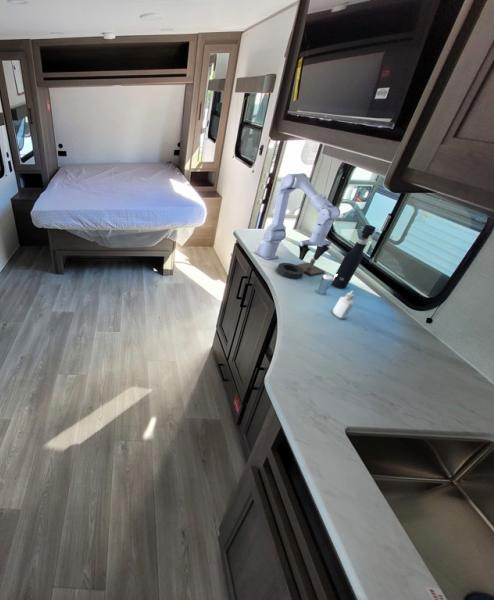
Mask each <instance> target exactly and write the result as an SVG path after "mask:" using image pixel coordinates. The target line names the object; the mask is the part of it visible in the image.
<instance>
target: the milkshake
mask: <svg viewBox="0 0 494 600" xmlns="http://www.w3.org/2000/svg"><path fill="white" fill-rule="evenodd" d="M337 275H338V274H337ZM337 275H336V276H337ZM336 276H335V275H334V276H333V275H331V274H324V275H323V274H322V277H321V281H320V283H319V285H318V288H317V290H316V292H317V293H318V294H320V295H325V294H326V293H327V292H328V290H329V289H330V286H332V285H331V284H332V282H333V281H334V278H335V277H336Z"/></svg>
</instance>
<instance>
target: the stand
mask: <svg viewBox="0 0 494 600" xmlns="http://www.w3.org/2000/svg"><path fill="white" fill-rule="evenodd" d="M316 261H317V260H315V259H314V258H311V259H310V262H304V263H300V264H296V265H297V266H299V267H301V268H302V269H303V270H304V273H303V274H305V275H307V276H309V277H313V276H317V275H323V274H324V273H325V270H323V269H321V268H319V267H318V266H316V265H315V263H316Z"/></svg>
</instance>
